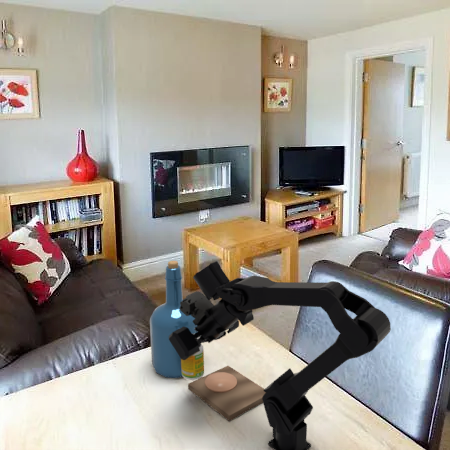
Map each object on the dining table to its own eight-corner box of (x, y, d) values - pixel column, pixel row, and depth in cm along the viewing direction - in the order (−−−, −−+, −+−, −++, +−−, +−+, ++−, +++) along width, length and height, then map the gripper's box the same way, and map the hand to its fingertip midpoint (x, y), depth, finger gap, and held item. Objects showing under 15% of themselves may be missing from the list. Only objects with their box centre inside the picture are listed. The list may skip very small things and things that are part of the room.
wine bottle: (169, 386, 116) (164, 274, 109) (143, 364, 126) (137, 260, 119) (212, 367, 125) (210, 262, 117) (184, 348, 135) (181, 250, 127)
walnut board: (270, 398, 111) (270, 392, 111) (229, 421, 103) (229, 415, 103) (228, 370, 123) (228, 365, 123) (188, 389, 115) (188, 383, 115)
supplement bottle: (197, 382, 107) (196, 344, 104) (177, 377, 109) (175, 340, 107) (208, 371, 111) (207, 334, 109) (188, 366, 114) (187, 330, 111)
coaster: (243, 383, 115) (243, 382, 115) (218, 396, 110) (218, 394, 110) (223, 370, 121) (223, 368, 120) (198, 381, 116) (198, 380, 116)
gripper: (228, 273, 109) (195, 305, 119) (172, 298, 95) (140, 332, 104) (256, 312, 106) (219, 342, 116) (202, 344, 92) (166, 375, 102)
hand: (187, 346), depth 109 cm, fingers closed on supplement bottle, 5 cm apart
